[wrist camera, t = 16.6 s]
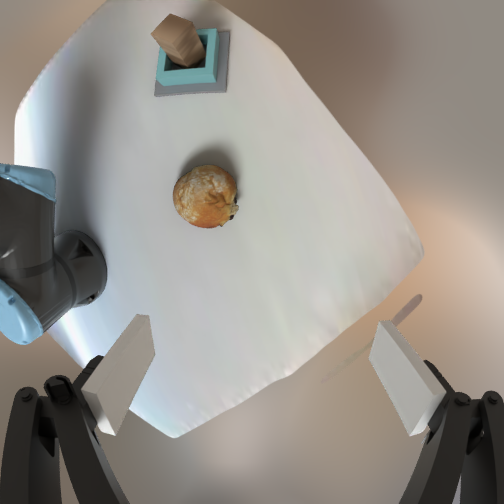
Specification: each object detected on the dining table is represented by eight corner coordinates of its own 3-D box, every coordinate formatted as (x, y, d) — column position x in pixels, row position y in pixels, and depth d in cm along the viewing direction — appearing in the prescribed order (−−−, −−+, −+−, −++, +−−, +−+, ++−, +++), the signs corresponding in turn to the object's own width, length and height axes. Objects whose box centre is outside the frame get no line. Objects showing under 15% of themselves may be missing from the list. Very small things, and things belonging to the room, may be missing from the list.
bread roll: (223, 162, 46) (203, 142, 38) (255, 207, 43) (240, 192, 36) (179, 197, 47) (154, 184, 40) (207, 243, 45) (183, 237, 37)
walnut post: (192, 73, 37) (172, 43, 25) (174, 64, 36) (150, 34, 25) (206, 56, 36) (192, 22, 25) (188, 47, 36) (169, 13, 24)
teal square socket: (156, 96, 39) (145, 89, 34) (163, 40, 36) (154, 28, 31) (226, 92, 39) (222, 82, 34) (229, 34, 36) (227, 20, 31)
